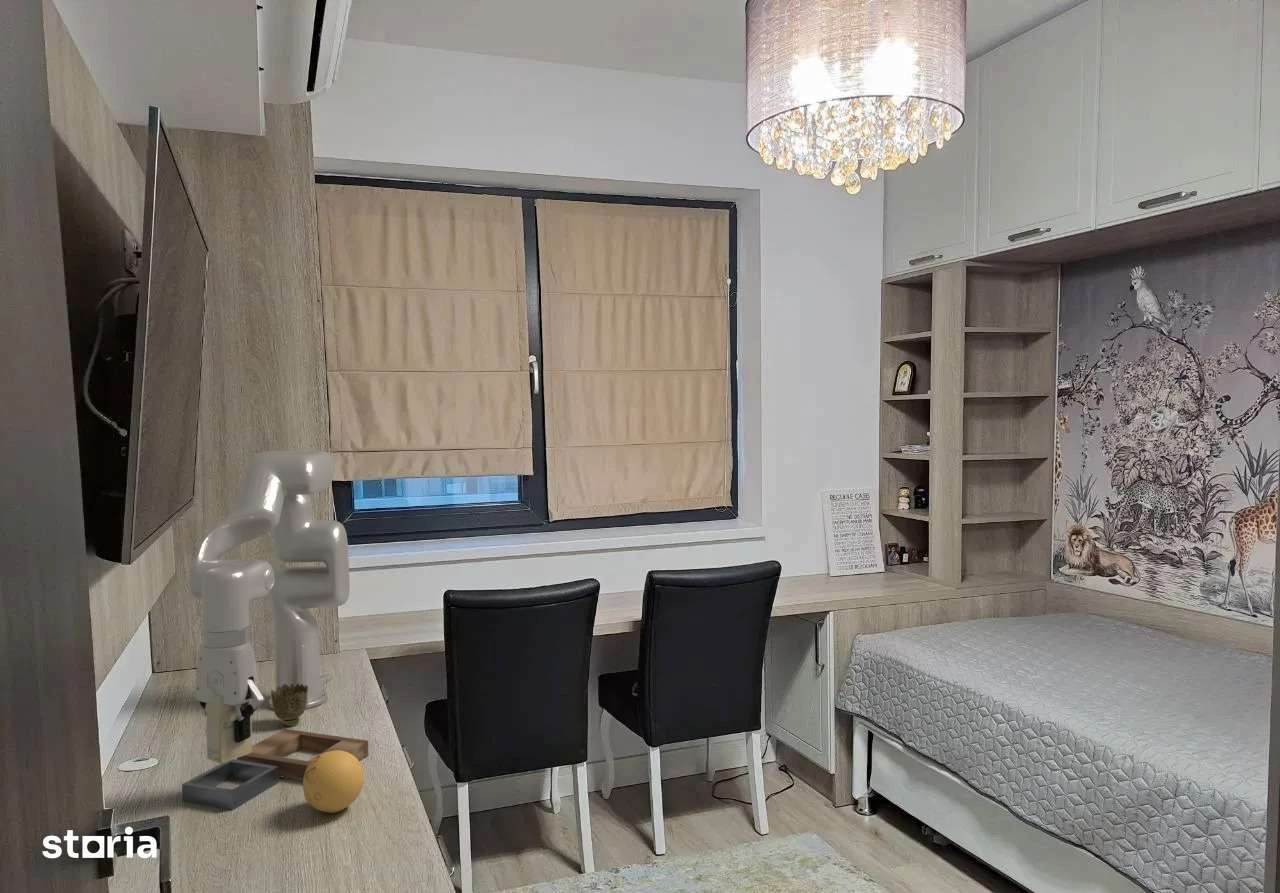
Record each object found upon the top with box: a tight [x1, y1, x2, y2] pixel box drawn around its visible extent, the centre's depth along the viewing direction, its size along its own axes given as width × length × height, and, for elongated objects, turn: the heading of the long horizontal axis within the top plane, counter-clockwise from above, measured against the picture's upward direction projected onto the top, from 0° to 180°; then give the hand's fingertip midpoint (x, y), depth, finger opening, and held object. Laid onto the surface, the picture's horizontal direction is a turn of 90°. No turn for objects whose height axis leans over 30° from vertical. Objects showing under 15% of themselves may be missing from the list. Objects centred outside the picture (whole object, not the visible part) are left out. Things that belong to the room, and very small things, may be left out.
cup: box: [270, 683, 308, 727], centre depth 182 cm, size 8×7×8 cm
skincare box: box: [206, 694, 253, 765], centre depth 150 cm, size 6×4×12 cm
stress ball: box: [302, 750, 365, 814], centre depth 144 cm, size 10×10×10 cm
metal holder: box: [181, 759, 280, 811], centre depth 151 cm, size 11×11×3 cm
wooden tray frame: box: [236, 728, 369, 781], centre depth 163 cm, size 13×20×3 cm, turn 72°
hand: (229, 736), depth 150 cm, fingers closed on skincare box, 5 cm apart
